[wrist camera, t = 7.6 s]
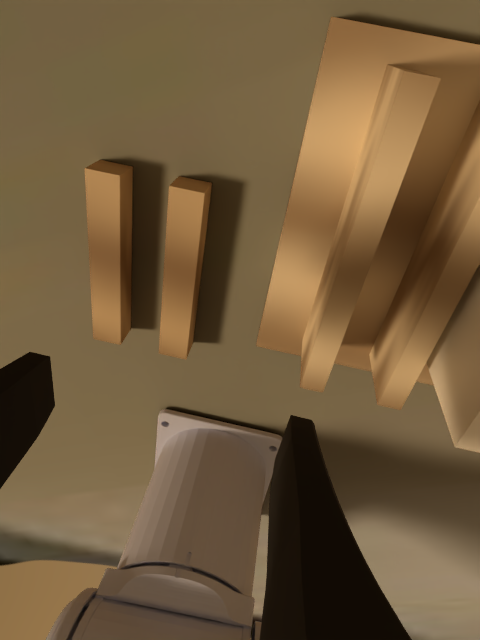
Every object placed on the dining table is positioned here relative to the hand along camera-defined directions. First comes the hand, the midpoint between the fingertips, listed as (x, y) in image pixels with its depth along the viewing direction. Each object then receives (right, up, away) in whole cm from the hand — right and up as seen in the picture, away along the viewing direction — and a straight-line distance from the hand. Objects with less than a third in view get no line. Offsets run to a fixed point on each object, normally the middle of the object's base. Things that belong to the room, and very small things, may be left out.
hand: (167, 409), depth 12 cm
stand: (-2, +6, +9) cm, 11 cm away
